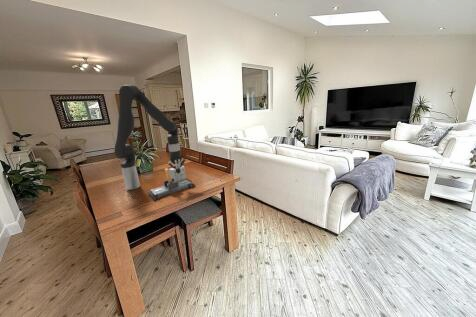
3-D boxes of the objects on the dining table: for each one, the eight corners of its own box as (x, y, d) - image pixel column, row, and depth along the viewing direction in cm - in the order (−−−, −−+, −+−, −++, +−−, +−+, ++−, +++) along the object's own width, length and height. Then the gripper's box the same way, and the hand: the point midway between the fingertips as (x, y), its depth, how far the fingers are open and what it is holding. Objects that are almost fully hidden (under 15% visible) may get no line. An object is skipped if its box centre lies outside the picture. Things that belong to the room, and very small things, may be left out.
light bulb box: (181, 176, 161) (179, 164, 157) (186, 178, 157) (184, 166, 154) (170, 181, 152) (168, 168, 149) (175, 183, 149) (173, 170, 145)
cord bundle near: (148, 193, 133) (147, 191, 133) (153, 191, 136) (153, 189, 135) (154, 201, 122) (153, 198, 122) (160, 199, 125) (160, 196, 124)
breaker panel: (151, 193, 133) (149, 184, 131) (186, 182, 148) (184, 174, 146) (155, 198, 125) (153, 189, 123) (191, 186, 141) (190, 177, 139)
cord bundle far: (182, 182, 149) (182, 180, 148) (187, 181, 151) (187, 179, 150) (191, 188, 137) (190, 186, 137) (196, 186, 140) (195, 184, 139)
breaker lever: (169, 185, 137) (164, 168, 132) (171, 184, 138) (166, 167, 133) (171, 187, 134) (166, 170, 129) (173, 186, 135) (168, 169, 130)
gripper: (181, 147, 139) (184, 169, 144) (163, 150, 131) (167, 174, 136) (185, 148, 133) (189, 171, 138) (167, 152, 126) (171, 177, 131)
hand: (178, 173), depth 137 cm, fingers closed
